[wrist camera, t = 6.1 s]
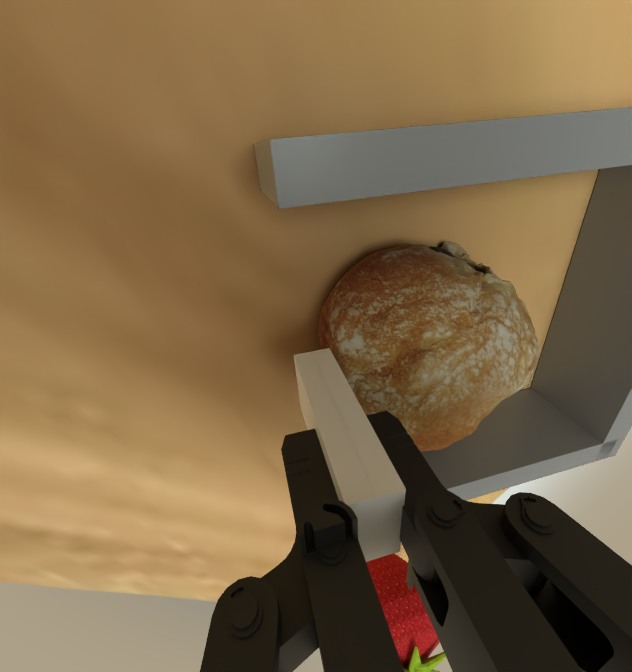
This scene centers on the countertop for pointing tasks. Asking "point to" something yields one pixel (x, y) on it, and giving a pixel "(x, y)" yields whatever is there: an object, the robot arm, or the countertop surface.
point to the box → (576, 296)
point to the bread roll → (429, 339)
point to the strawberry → (405, 614)
